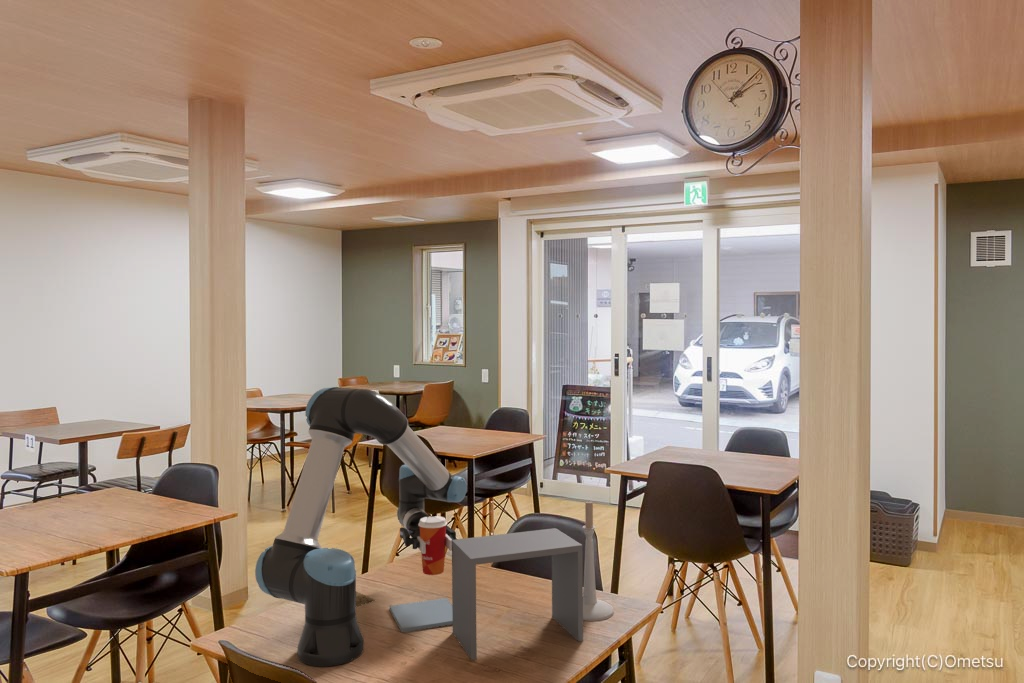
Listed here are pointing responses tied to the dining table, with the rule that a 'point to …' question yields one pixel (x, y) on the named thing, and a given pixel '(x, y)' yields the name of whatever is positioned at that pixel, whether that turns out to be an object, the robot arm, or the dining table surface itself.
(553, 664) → the dining table surface
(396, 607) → the mat
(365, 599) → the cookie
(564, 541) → the shelf riser
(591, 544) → the candlestick
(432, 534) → the paper cup
